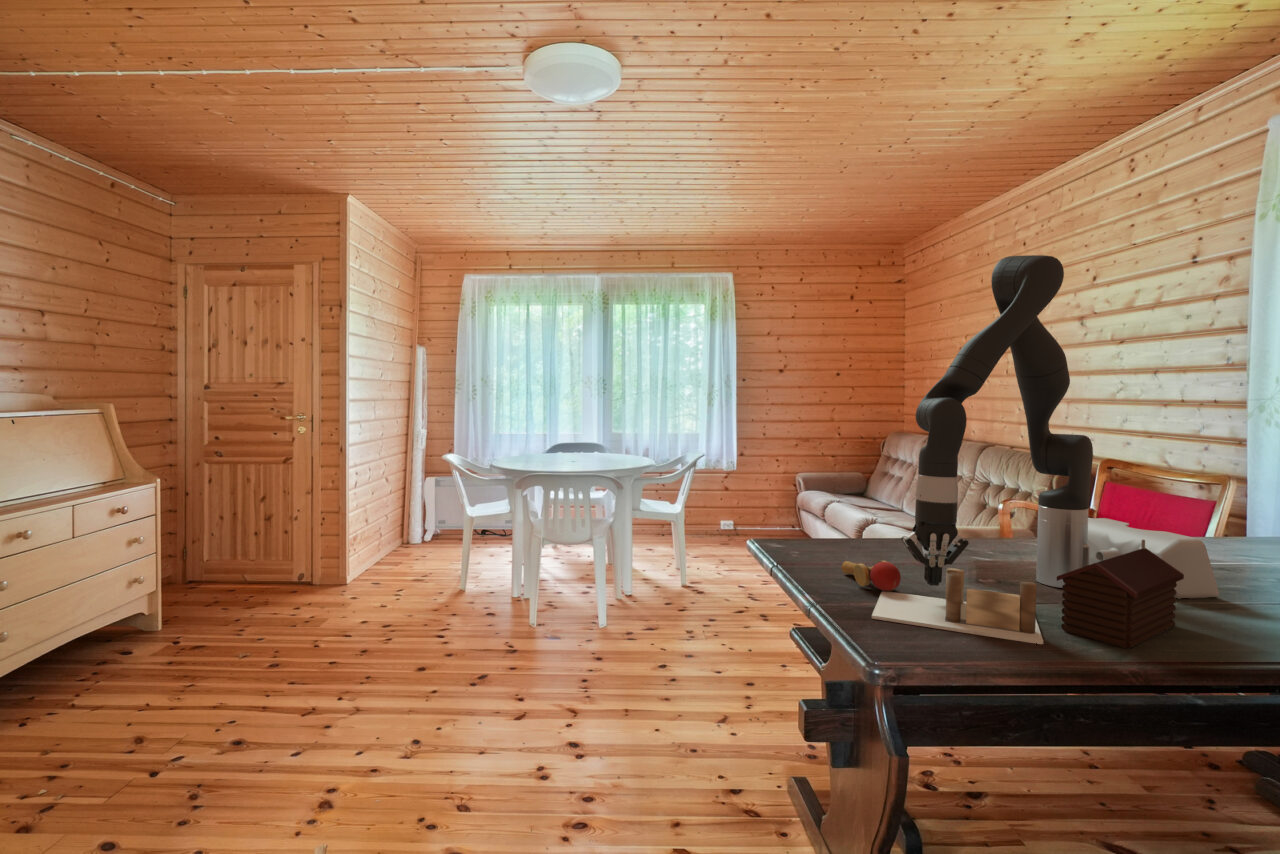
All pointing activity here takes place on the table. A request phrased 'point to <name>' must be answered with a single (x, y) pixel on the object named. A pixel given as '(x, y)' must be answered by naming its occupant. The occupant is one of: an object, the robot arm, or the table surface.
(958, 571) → the panel
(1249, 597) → the table surface
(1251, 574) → the table surface
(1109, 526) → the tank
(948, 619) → the fence fixed
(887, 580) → the kendama
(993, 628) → the board
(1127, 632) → the model building
